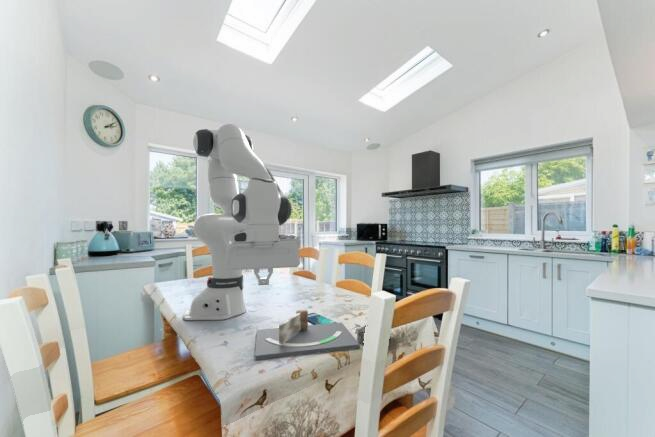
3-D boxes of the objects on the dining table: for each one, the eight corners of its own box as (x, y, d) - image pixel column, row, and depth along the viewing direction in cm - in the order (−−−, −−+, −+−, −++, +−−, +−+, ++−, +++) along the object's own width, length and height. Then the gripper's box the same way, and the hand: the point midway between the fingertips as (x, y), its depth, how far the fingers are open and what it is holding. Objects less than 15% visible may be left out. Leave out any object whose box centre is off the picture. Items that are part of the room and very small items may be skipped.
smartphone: (314, 312, 107) (338, 322, 95) (314, 314, 107) (338, 325, 95) (298, 316, 103) (321, 327, 91) (298, 318, 103) (321, 329, 91)
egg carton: (373, 349, 76) (373, 334, 76) (352, 341, 81) (352, 327, 81) (394, 338, 83) (394, 324, 83) (374, 331, 88) (374, 318, 89)
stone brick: (299, 324, 90) (299, 309, 90) (309, 326, 88) (309, 310, 89) (274, 342, 76) (274, 324, 76) (286, 344, 75) (286, 326, 75)
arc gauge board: (255, 359, 70) (255, 354, 70) (257, 333, 87) (257, 329, 87) (359, 348, 76) (359, 343, 76) (341, 325, 93) (341, 321, 94)
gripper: (298, 234, 82) (299, 280, 82) (226, 235, 78) (227, 284, 77) (301, 234, 76) (302, 284, 76) (223, 236, 71) (223, 289, 71)
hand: (263, 284), depth 76 cm, fingers closed
